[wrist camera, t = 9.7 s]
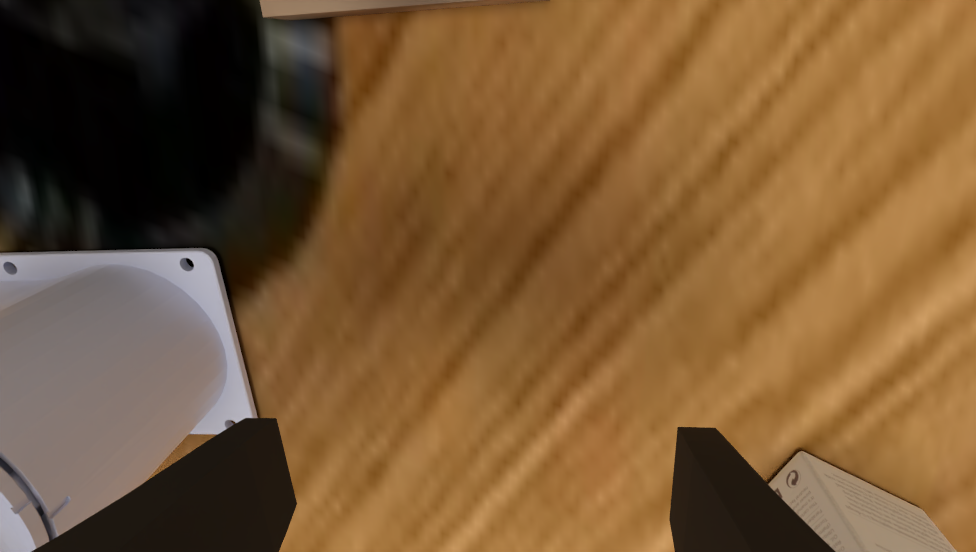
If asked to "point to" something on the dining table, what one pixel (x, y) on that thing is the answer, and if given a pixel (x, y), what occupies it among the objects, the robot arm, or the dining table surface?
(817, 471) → the skincare box
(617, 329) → the dining table surface
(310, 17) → the tower base
